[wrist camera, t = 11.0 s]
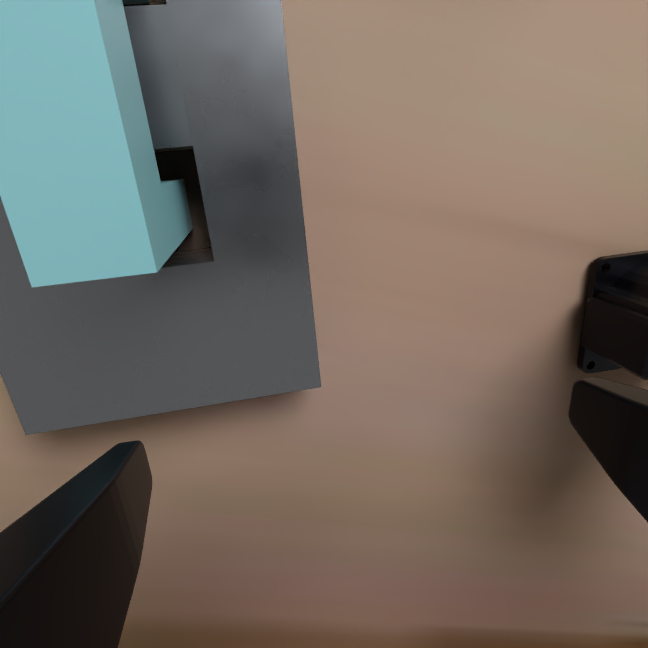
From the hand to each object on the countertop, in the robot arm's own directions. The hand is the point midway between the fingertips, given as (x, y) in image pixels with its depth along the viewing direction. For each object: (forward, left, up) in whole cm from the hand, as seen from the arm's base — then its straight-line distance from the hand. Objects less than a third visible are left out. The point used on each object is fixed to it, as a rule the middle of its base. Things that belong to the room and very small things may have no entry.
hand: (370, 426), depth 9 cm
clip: (+6, -8, -12) cm, 16 cm away
